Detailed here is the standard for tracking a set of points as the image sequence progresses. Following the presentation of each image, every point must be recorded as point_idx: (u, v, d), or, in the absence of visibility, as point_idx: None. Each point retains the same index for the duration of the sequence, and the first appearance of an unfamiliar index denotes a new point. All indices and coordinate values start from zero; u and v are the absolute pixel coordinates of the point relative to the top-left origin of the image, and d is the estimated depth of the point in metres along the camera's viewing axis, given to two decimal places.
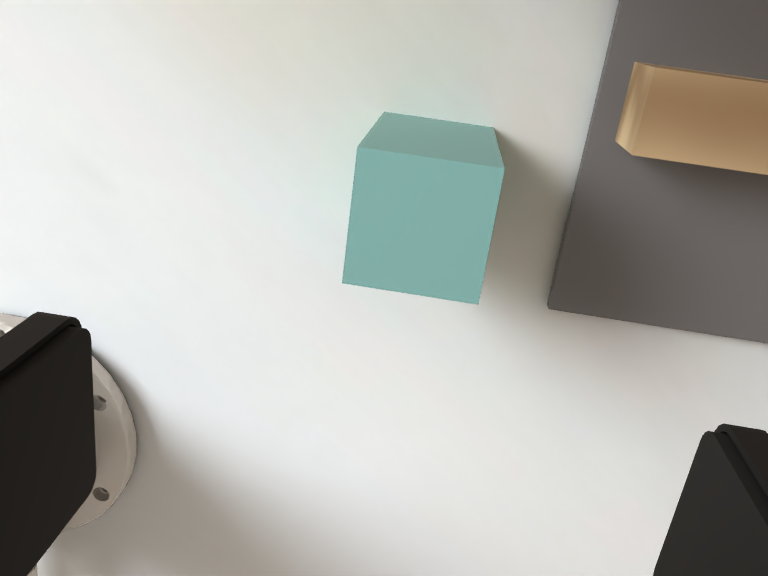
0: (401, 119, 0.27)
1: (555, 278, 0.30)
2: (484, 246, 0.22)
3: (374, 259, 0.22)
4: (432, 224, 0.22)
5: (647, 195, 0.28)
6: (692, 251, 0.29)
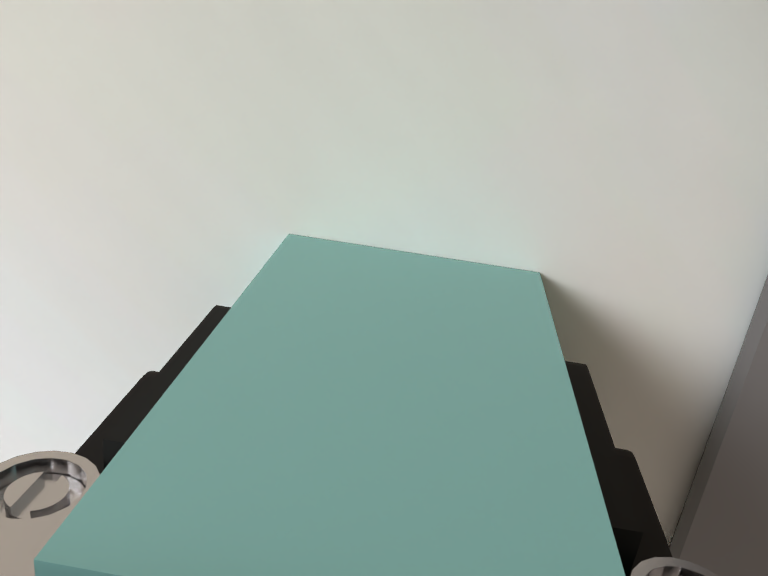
0: (319, 267, 0.11)
1: None
2: None
3: None
4: None
5: None
6: None
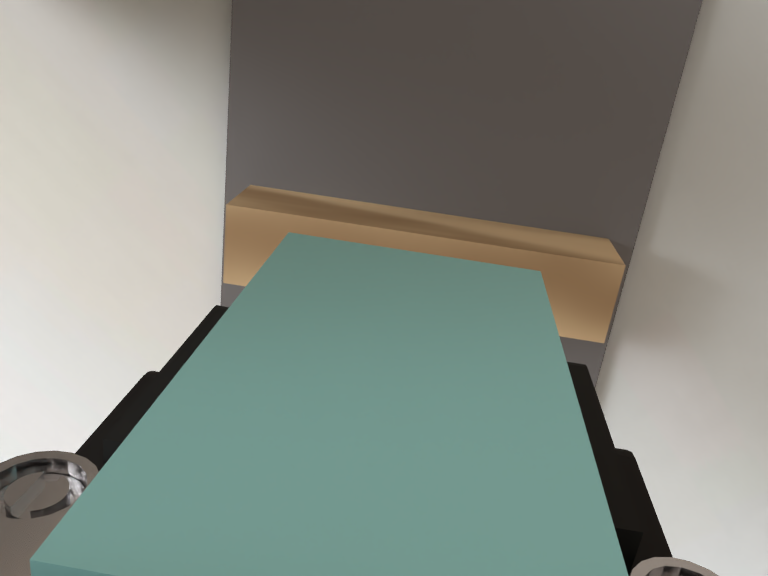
0: (318, 265, 0.11)
1: None
2: None
3: None
4: None
5: None
6: None
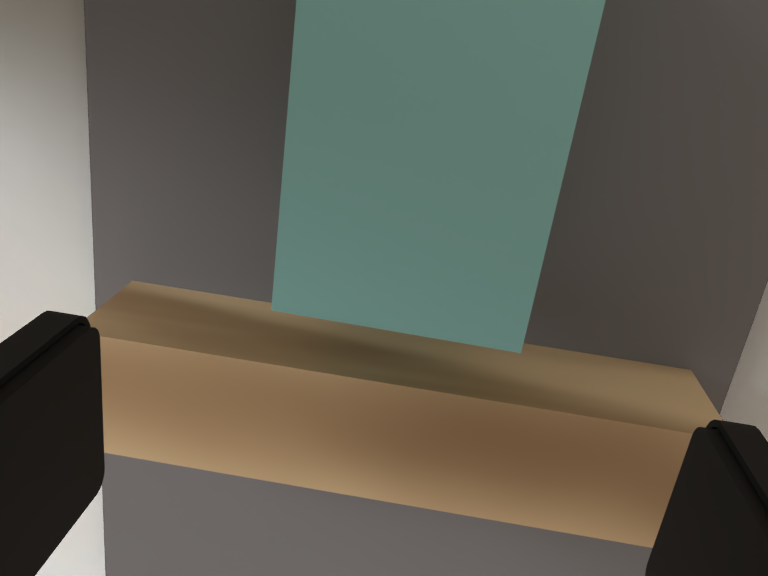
0: None
1: (106, 549, 0.21)
2: None
3: None
4: None
5: None
6: (277, 526, 0.20)
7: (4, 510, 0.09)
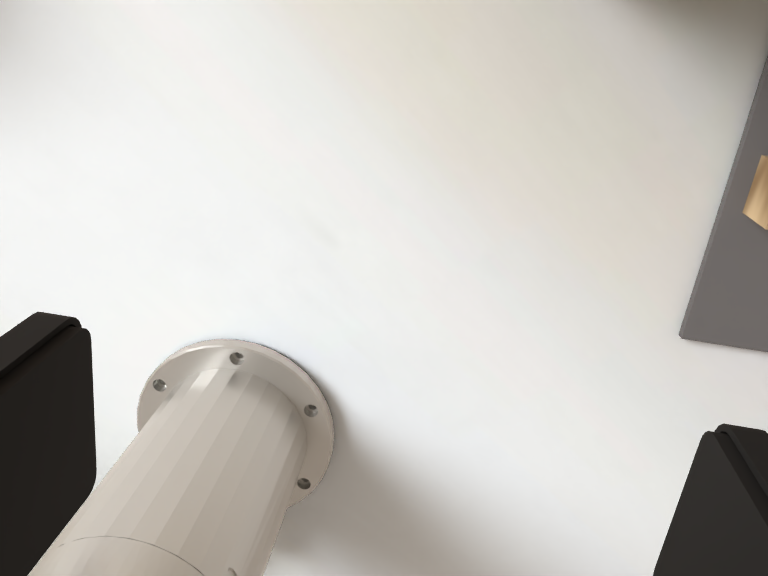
0: None
1: (688, 315, 0.38)
2: None
3: None
4: None
5: (765, 253, 0.37)
6: None
7: None
